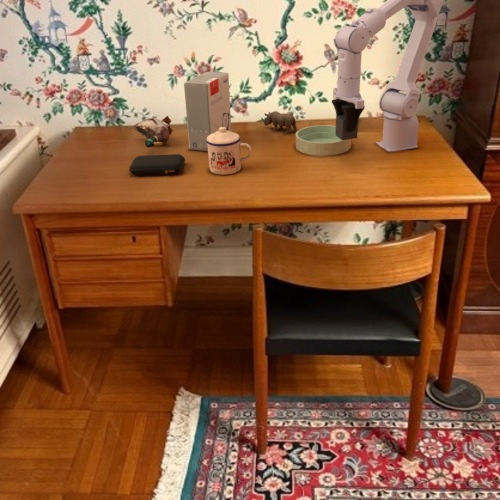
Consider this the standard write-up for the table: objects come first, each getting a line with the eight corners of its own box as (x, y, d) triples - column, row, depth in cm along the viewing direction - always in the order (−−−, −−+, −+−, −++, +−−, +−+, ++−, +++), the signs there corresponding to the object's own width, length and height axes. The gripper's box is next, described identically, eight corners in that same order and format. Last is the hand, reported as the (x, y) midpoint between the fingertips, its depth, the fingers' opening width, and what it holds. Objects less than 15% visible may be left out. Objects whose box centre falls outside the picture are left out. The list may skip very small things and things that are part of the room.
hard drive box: (211, 152, 163) (206, 84, 153) (188, 150, 166) (181, 83, 156) (232, 136, 176) (228, 71, 166) (211, 134, 178) (205, 70, 168)
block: (350, 133, 151) (351, 113, 149) (357, 138, 148) (358, 118, 145) (335, 135, 150) (336, 115, 148) (342, 140, 147) (343, 120, 144)
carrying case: (127, 179, 149) (182, 176, 148) (126, 168, 147) (181, 166, 147) (134, 164, 158) (186, 162, 158) (133, 154, 156) (185, 152, 156)
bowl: (336, 134, 172) (337, 122, 170) (360, 151, 158) (361, 138, 156) (288, 142, 168) (287, 129, 166) (307, 160, 155) (308, 146, 153)
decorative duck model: (156, 135, 160) (112, 129, 164) (160, 159, 164) (117, 152, 169) (180, 115, 171) (138, 110, 175) (183, 138, 175) (142, 132, 180)
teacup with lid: (206, 175, 148) (202, 133, 142) (211, 163, 156) (208, 122, 150) (250, 175, 147) (248, 133, 141) (253, 162, 155) (251, 122, 149)
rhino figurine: (266, 125, 184) (265, 107, 181) (299, 132, 176) (299, 113, 173) (258, 128, 181) (257, 110, 178) (291, 135, 173) (291, 116, 170)
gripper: (323, 72, 146) (322, 122, 153) (346, 84, 134) (344, 138, 141) (347, 69, 148) (345, 119, 155) (373, 81, 136) (369, 135, 143)
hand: (346, 128), depth 148 cm, fingers closed on block, 4 cm apart
